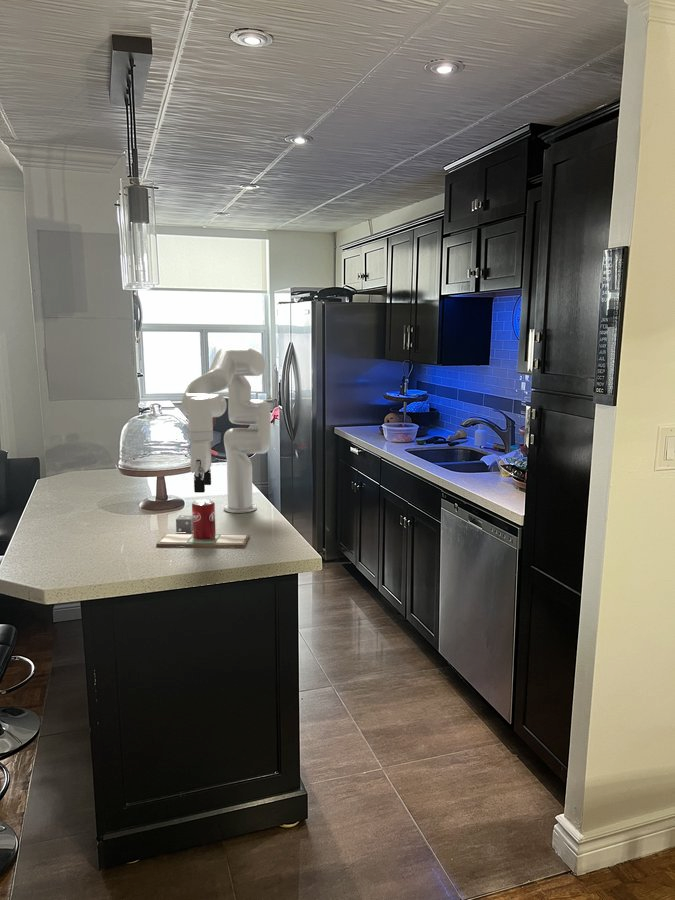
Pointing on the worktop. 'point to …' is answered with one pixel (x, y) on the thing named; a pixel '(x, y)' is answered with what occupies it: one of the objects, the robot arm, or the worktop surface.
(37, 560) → the worktop surface
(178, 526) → the die
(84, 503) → the worktop surface
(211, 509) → the soda can
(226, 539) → the board
